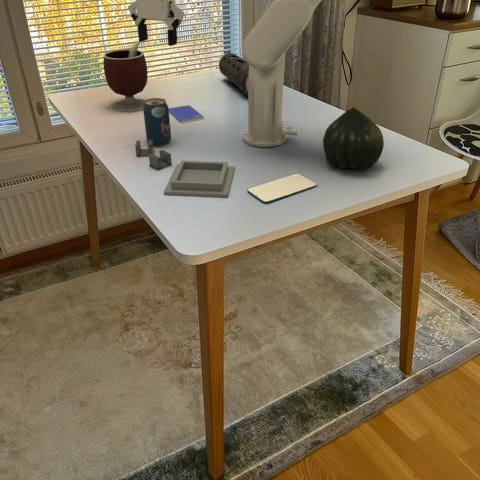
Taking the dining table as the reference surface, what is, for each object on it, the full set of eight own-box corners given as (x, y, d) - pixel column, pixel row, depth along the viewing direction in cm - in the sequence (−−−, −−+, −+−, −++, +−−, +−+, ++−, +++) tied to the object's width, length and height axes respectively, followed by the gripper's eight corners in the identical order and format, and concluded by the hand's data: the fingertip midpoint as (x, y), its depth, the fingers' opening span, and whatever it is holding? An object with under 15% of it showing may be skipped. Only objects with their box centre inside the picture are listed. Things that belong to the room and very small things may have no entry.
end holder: (234, 169, 124) (234, 159, 123) (227, 197, 112) (227, 187, 110) (177, 166, 125) (176, 157, 124) (164, 194, 113) (163, 184, 112)
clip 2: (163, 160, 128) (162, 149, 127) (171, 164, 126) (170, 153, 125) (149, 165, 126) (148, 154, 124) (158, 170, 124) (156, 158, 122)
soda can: (170, 147, 136) (166, 105, 129) (145, 147, 136) (140, 105, 129) (172, 137, 142) (169, 97, 135) (149, 137, 142) (144, 97, 135)
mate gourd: (132, 115, 157) (123, 51, 146) (101, 108, 163) (90, 46, 152) (162, 102, 168) (156, 41, 157) (132, 96, 174) (124, 37, 163)
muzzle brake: (241, 78, 193) (240, 51, 187) (269, 98, 171) (270, 68, 166) (218, 80, 190) (217, 53, 184) (244, 102, 169) (244, 71, 163)
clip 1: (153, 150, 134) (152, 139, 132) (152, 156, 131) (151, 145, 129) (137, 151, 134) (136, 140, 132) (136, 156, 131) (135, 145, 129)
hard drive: (204, 116, 154) (189, 104, 163) (179, 120, 151) (166, 108, 160) (204, 120, 155) (190, 109, 164) (180, 125, 152) (167, 113, 161)
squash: (365, 165, 113) (385, 106, 114) (307, 154, 120) (327, 98, 121) (376, 184, 125) (394, 130, 126) (323, 172, 132) (341, 122, 133)
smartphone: (297, 176, 122) (245, 192, 114) (297, 172, 121) (245, 188, 114) (318, 188, 116) (265, 206, 109) (318, 184, 116) (265, 202, 108)
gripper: (189, -29, 120) (192, 43, 130) (134, -33, 127) (141, 36, 137) (171, -26, 115) (176, 49, 124) (115, -31, 122) (123, 41, 131)
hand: (158, 42), depth 131 cm, fingers open, 9 cm apart
